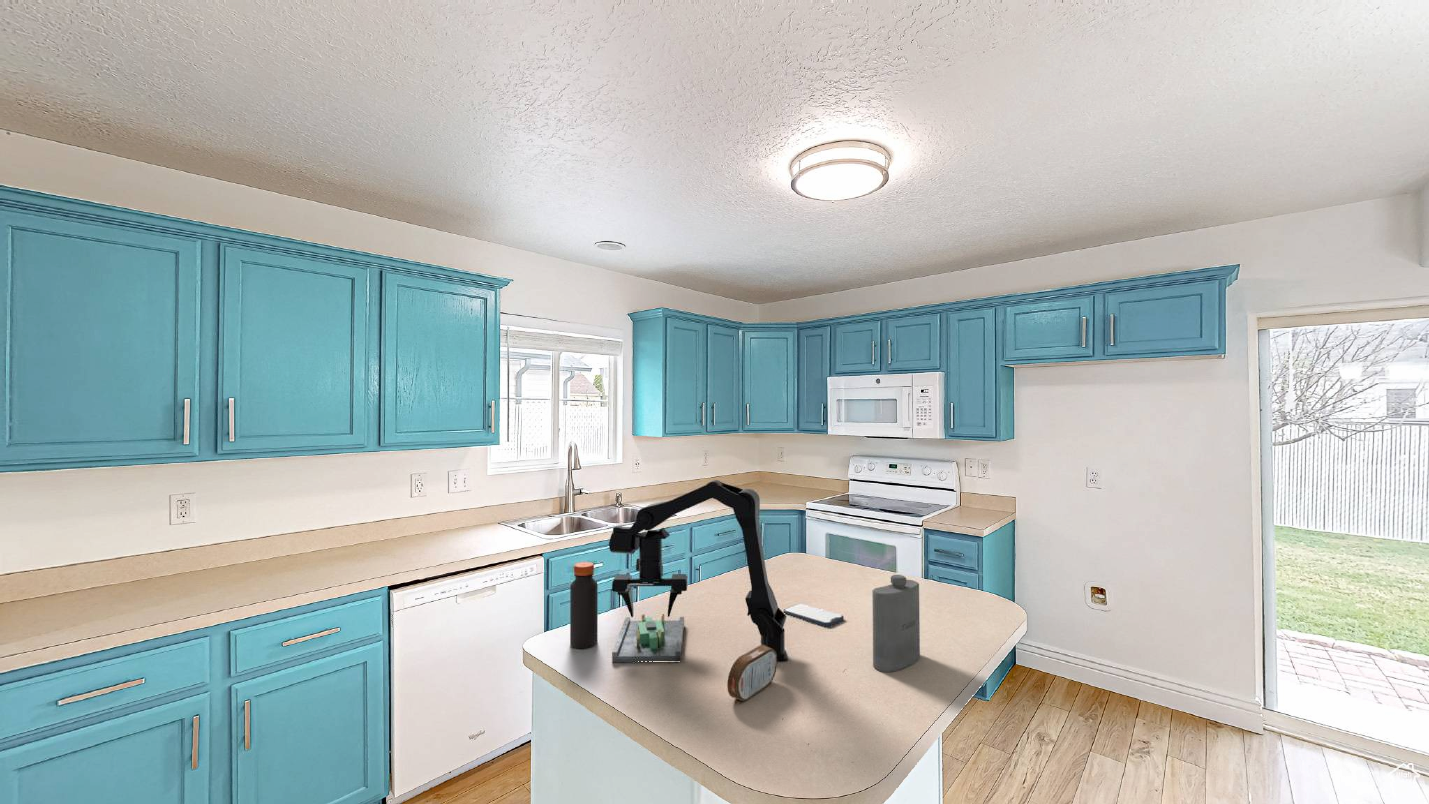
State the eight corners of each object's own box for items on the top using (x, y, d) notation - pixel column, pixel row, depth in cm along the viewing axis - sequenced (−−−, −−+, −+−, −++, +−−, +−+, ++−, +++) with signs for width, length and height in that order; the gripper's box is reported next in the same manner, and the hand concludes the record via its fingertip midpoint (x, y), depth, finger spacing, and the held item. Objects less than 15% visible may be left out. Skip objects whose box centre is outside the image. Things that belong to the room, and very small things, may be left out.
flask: (890, 676, 122) (889, 585, 123) (868, 666, 127) (867, 579, 127) (927, 657, 132) (926, 573, 132) (905, 649, 136) (904, 567, 136)
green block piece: (666, 647, 134) (666, 634, 134) (641, 649, 133) (641, 636, 133) (659, 625, 148) (659, 613, 148) (636, 627, 146) (636, 615, 146)
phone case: (781, 615, 161) (827, 629, 149) (781, 609, 161) (827, 623, 149) (800, 608, 167) (845, 621, 155) (800, 602, 167) (845, 615, 155)
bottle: (590, 650, 136) (590, 568, 136) (565, 648, 137) (565, 567, 138) (601, 639, 142) (601, 561, 143) (577, 637, 144) (577, 560, 144)
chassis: (680, 662, 129) (680, 639, 129) (612, 663, 129) (612, 639, 129) (684, 625, 151) (684, 606, 151) (625, 626, 151) (625, 606, 151)
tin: (767, 676, 122) (767, 638, 123) (779, 680, 120) (779, 642, 121) (725, 704, 111) (725, 662, 111) (738, 709, 109) (738, 666, 109)
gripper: (688, 546, 149) (688, 605, 149) (618, 547, 148) (618, 605, 148) (686, 557, 138) (686, 620, 137) (611, 558, 137) (611, 621, 137)
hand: (650, 616), depth 140 cm, fingers open, 9 cm apart
